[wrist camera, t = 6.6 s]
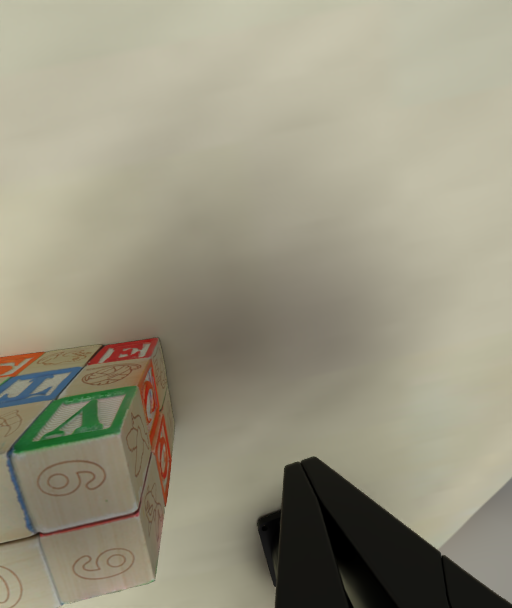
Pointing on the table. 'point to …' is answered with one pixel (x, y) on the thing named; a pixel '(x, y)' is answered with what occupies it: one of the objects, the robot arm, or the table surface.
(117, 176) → the table surface
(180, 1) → the table surface
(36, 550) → the stack of blocks
